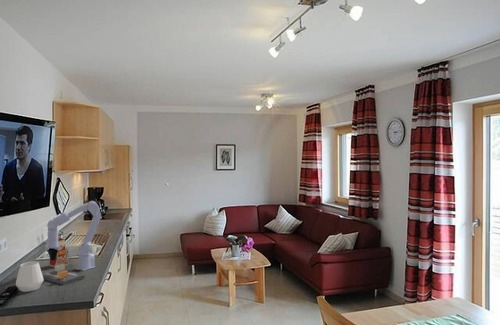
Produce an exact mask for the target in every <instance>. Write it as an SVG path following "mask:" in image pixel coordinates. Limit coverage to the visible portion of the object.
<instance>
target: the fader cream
mask: <svg viewBox="0 0 500 325" xmlns="http://www.w3.org/2000/svg"><path fill="white" fill-rule="evenodd" d="M65 267H66V265H65V264H63V263H62V264H58V265H55V268H54V270H55V271H57V272H58V271H62V270H66V268H65Z"/></svg>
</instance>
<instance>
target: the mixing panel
mask: <svg viewBox="0 0 500 325" xmlns="http://www.w3.org/2000/svg"><path fill="white" fill-rule="evenodd" d="M62 271H63V270H62ZM67 271H68V277H65V278H62V279H59V278H57V271H55V269H52V270H48V271H44V272H42V275H43V279H44V280H46V281H49V282H53V283H56V284H60V285H63V286H65V285H68V284H71V283H75V282H77V281H80V280H82V279H85V274H81V273H78V272H75V271H70V270H67ZM58 272H59V271H58Z"/></svg>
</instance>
